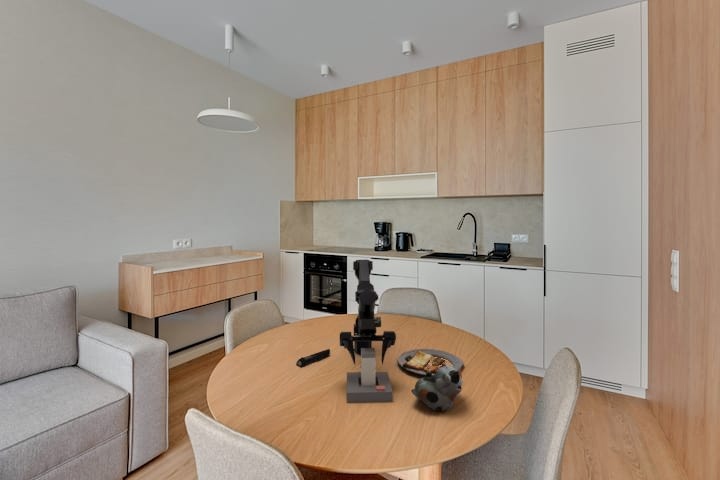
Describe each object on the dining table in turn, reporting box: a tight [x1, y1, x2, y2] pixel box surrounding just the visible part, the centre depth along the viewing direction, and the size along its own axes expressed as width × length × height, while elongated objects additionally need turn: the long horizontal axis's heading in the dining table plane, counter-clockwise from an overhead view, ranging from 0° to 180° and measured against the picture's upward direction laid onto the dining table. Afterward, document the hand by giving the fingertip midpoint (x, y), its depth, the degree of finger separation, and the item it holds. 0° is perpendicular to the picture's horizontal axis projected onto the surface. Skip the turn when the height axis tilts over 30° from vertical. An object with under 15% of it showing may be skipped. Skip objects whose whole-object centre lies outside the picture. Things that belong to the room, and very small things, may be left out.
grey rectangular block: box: [360, 347, 377, 386], centre depth 111 cm, size 4×4×12 cm
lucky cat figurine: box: [410, 365, 464, 414], centre depth 104 cm, size 15×12×14 cm
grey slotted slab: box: [346, 371, 393, 403], centre depth 111 cm, size 14×14×4 cm
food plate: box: [396, 348, 465, 376], centre depth 130 cm, size 25×23×4 cm
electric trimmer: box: [295, 348, 331, 368], centre depth 135 cm, size 4×16×3 cm, turn 136°
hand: (368, 363), depth 109 cm, fingers open, 9 cm apart
